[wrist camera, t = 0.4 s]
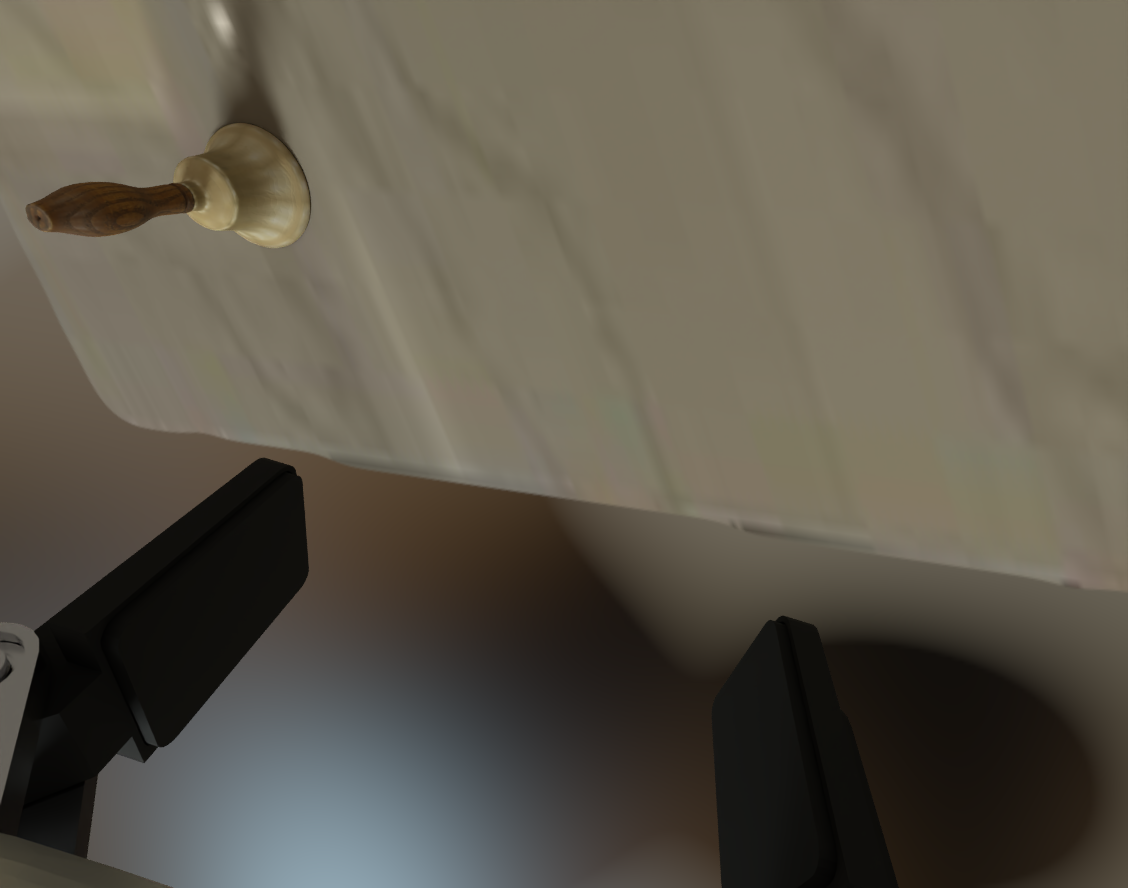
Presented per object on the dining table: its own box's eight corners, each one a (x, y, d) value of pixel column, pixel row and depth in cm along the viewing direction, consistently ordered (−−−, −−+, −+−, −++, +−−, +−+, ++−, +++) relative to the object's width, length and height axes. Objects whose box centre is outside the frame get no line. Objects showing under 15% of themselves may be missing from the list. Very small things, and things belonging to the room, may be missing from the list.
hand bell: (273, 106, 35) (23, 87, 22) (330, 231, 39) (147, 282, 25) (185, 143, 38) (-90, 148, 24) (246, 258, 41) (39, 318, 28)
